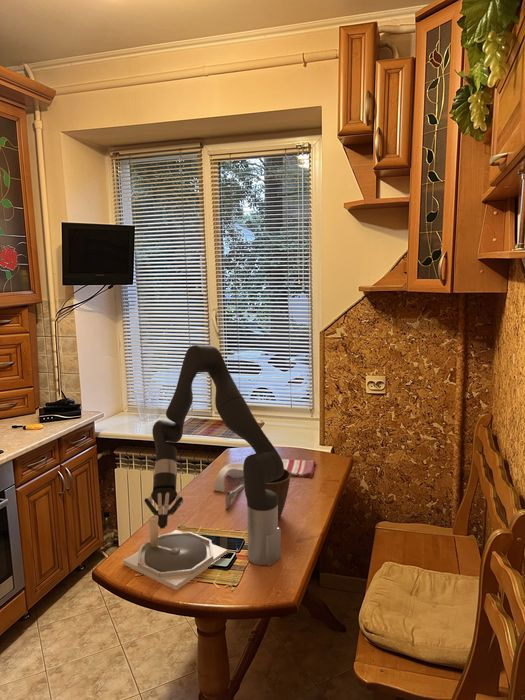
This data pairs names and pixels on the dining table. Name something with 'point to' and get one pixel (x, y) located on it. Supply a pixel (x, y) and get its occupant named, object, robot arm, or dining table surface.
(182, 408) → the robot arm
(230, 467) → the spoon rest
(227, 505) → the caliper
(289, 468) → the dish towel
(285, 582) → the dining table surface
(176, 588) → the dial plate
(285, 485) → the plant pot
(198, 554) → the dial
